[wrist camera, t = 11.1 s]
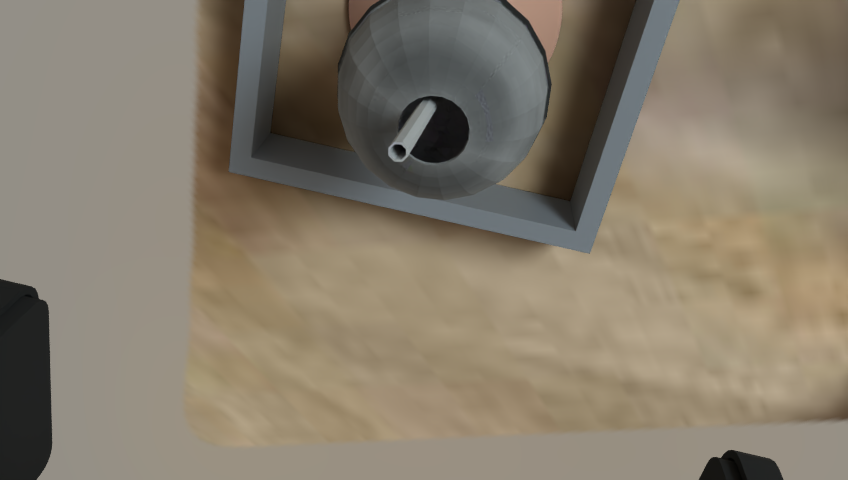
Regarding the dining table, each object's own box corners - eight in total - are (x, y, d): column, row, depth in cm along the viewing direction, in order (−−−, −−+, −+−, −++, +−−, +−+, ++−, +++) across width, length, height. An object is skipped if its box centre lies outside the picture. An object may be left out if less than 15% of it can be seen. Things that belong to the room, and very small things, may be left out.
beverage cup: (419, 115, 39) (347, 352, 21) (357, -26, 36) (214, 113, 18) (559, 61, 37) (609, 274, 19) (505, -92, 34) (508, -8, 16)
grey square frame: (711, -152, 32) (733, -151, 29) (583, 222, 41) (589, 253, 38) (291, -251, 32) (269, -260, 29) (249, 146, 41) (228, 171, 37)
